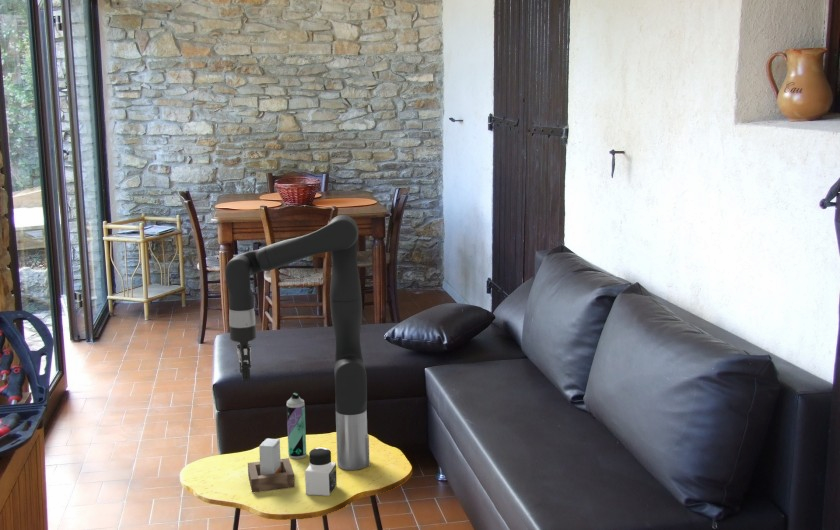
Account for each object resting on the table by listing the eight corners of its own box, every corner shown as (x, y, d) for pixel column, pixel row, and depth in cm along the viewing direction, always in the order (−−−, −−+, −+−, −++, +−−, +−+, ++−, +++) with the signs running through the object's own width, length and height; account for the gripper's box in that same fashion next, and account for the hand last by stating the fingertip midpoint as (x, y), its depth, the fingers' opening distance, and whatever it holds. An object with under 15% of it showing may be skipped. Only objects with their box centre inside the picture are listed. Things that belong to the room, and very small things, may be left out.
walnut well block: (289, 470, 265) (288, 458, 264) (294, 487, 253) (294, 474, 253) (248, 475, 262) (247, 462, 261) (252, 492, 250) (251, 479, 249)
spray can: (291, 451, 279) (288, 390, 276) (308, 452, 278) (306, 391, 275) (286, 458, 274) (283, 396, 270) (303, 459, 273) (301, 396, 269)
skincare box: (274, 486, 254) (272, 446, 252) (260, 485, 255) (258, 445, 253) (281, 477, 260) (280, 438, 258) (268, 476, 261) (266, 437, 259)
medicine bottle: (330, 496, 247) (328, 455, 245) (305, 494, 249) (303, 454, 246) (337, 485, 254) (335, 445, 252) (312, 484, 255) (311, 444, 253)
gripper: (257, 328, 254) (260, 382, 257) (253, 316, 268) (255, 368, 271) (231, 330, 252) (233, 385, 255) (227, 318, 266) (230, 370, 269)
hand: (245, 376), depth 263 cm, fingers open, 8 cm apart
